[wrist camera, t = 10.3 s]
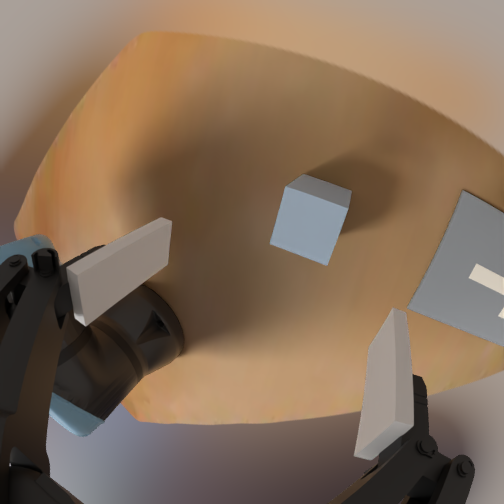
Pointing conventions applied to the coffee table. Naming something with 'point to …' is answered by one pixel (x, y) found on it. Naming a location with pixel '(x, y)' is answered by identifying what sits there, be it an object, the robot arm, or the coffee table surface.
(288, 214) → the block
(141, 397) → the coffee table surface
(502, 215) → the letter card
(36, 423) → the robot arm
